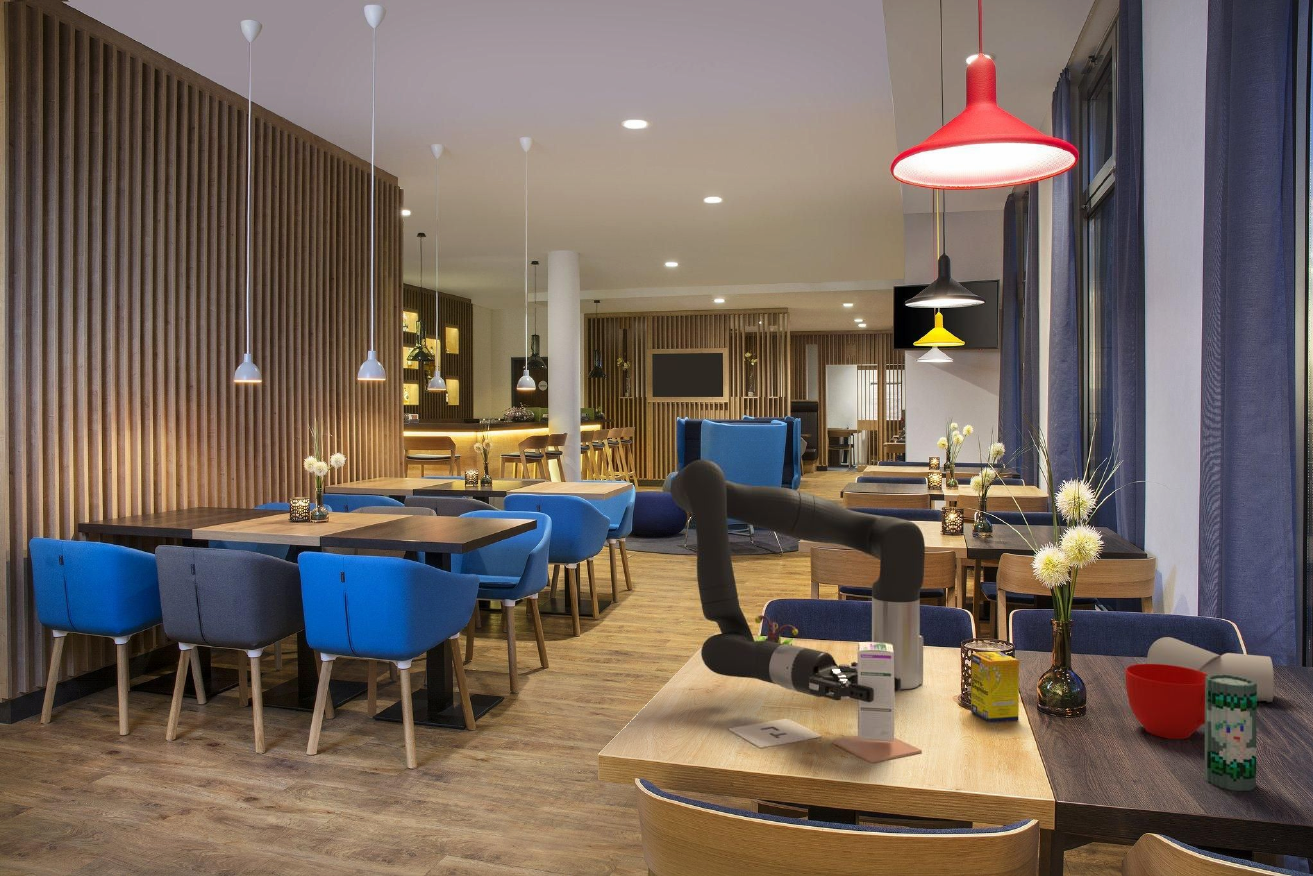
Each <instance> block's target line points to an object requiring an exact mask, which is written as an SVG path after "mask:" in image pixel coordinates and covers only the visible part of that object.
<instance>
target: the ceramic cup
mask: <svg viewBox="0 0 1313 876" xmlns="http://www.w3.org/2000/svg"><path fill="white" fill-rule="evenodd" d="M1124 674H1125V688H1126V689H1125V690H1126V695H1127V698H1128V699H1127V700H1128V703H1129V706H1130V708H1131V711H1132V713H1133V715H1134V716H1135V718H1136V719H1137V720H1138V722H1139V723H1140V724H1141V725H1142V727H1144V728H1145V731H1146V732H1148V733H1149V734H1150V735H1154V736H1157V737H1161V738H1166V739H1172V740H1173V739H1174V740H1175V739H1176V740H1180V739H1181V740H1182V739H1187V738H1190V737H1191V735H1192V734H1194V733H1195V732H1196V731H1197V730H1199V729H1200V727H1201V726H1203V725H1205V676H1207V675H1208V674H1206V673H1203V672H1200V671H1197V670H1194V669H1190V668H1185V667H1179V666H1173V665H1164V664H1148V663H1137V664H1133V665H1129V666H1127V667H1126V668H1125V673H1124Z"/></svg>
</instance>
